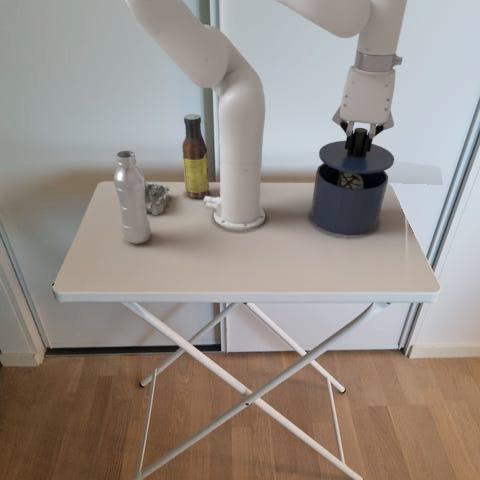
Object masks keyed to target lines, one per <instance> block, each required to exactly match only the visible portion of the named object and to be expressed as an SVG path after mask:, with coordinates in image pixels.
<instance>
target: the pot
mask: <svg viewBox="0 0 480 480" xmlns="http://www.w3.org/2000/svg"><path fill="white" fill-rule="evenodd" d="M357 174H358V175H359V176H361V178H362V180H363V187H364V189H349V188H343V187H339V186H337V182H338V175H339V170H338V169H335V168H332V167H330V166H328V165H326V164H325V163H324V162H322V163H321V164H320V165H319V166H318V167H317V170H316V173H315V181H314V187H313V188H314V189H313V196H312V202H311V208H310V218H311V221H312V222H313V224H314V225H315V226H316V227H318V228H320V229H321V230H323V231H325V232H328V233H331V234H335V235H338V236H339V235H340V236H360V235H365V234H368V233H370V232H372V231H373V230H374V229H375V228H376V227H377V225H378V222H379V218H380V215H381V210H382V206H383V202H384V198H385V195H386V190H387V187H388V182H389V175H388V174H387V172H386V170H385V171H382V172H377V173H367V174H359V173H357Z"/></svg>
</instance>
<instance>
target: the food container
mask: <svg viewBox="0 0 480 480" xmlns="http://www.w3.org/2000/svg"><path fill="white" fill-rule="evenodd" d="M337 186H339V187H343V188H349V189H364V187H363V180H362V178H361V176H359V175H358V174H357V173H350V172H345V171H341V170H339V175H338V182H337Z"/></svg>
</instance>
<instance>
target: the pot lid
mask: <svg viewBox="0 0 480 480" xmlns="http://www.w3.org/2000/svg"><path fill="white" fill-rule="evenodd" d="M368 132H369V130H368V129H367V128H364V127H356V128H354V129H353V133H354V136H353V142H352V147H351V153H350V154H349V155H347V151H348V149H345V144H346V140H338V141H337V140H336V141H333V142H329V143H326V144H325V145H323V146H322V147H320V149H319V151H318V157H319V159H320V160H321V162H322V163H325V164H326V165H328V166H330V167H332V168H335V169H338V170H341V171H345V172H350V173H359V174H367V173H377V172H382V171H385V172H386V171H387V170H389V169H390V168H392V166H393V165H394V163H395V156H394V155H393V153H392V152H391V151H389V150H388V149H386V148H385V147H383V146H380V145H377V144H374V143H372V145H371V149H370V152H367V153H366V157H363V151H364V146H365V141H366V137H367V135H368Z"/></svg>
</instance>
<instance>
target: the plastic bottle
mask: <svg viewBox="0 0 480 480" xmlns="http://www.w3.org/2000/svg"><path fill="white" fill-rule="evenodd" d="M116 164H117V165H118V167H117V168H116V170H115V172H114V174H113V183H114V187H115V190H116V193H117V196H118V200H119V201H118V202H119V205H120V210H121V212H120V213H121V233H122V236H123V238H124V239H125V241H127V242H128V243H131V244H142V243H146V242H147V241H149V239H150V238H151V235H152V226H151V223H150V220H149V216H148V212H147V211H146V205H145V183H146V177H145V174H144V172H143V171H142V170H141V169H140V168H139V166H137V159H136V154H135V152H134V151H131V150H120V151H118V152H116Z"/></svg>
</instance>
